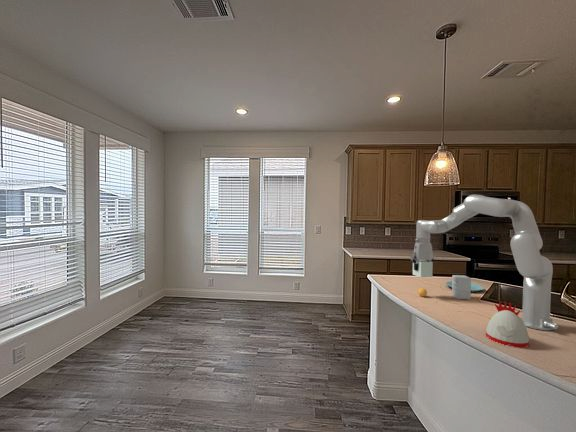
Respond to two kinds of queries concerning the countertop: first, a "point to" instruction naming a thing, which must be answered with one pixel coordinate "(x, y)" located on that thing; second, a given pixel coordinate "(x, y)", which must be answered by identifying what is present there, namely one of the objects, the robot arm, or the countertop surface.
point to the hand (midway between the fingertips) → (422, 269)
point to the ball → (422, 292)
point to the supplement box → (461, 287)
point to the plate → (473, 286)
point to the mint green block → (423, 269)
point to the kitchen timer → (507, 327)
